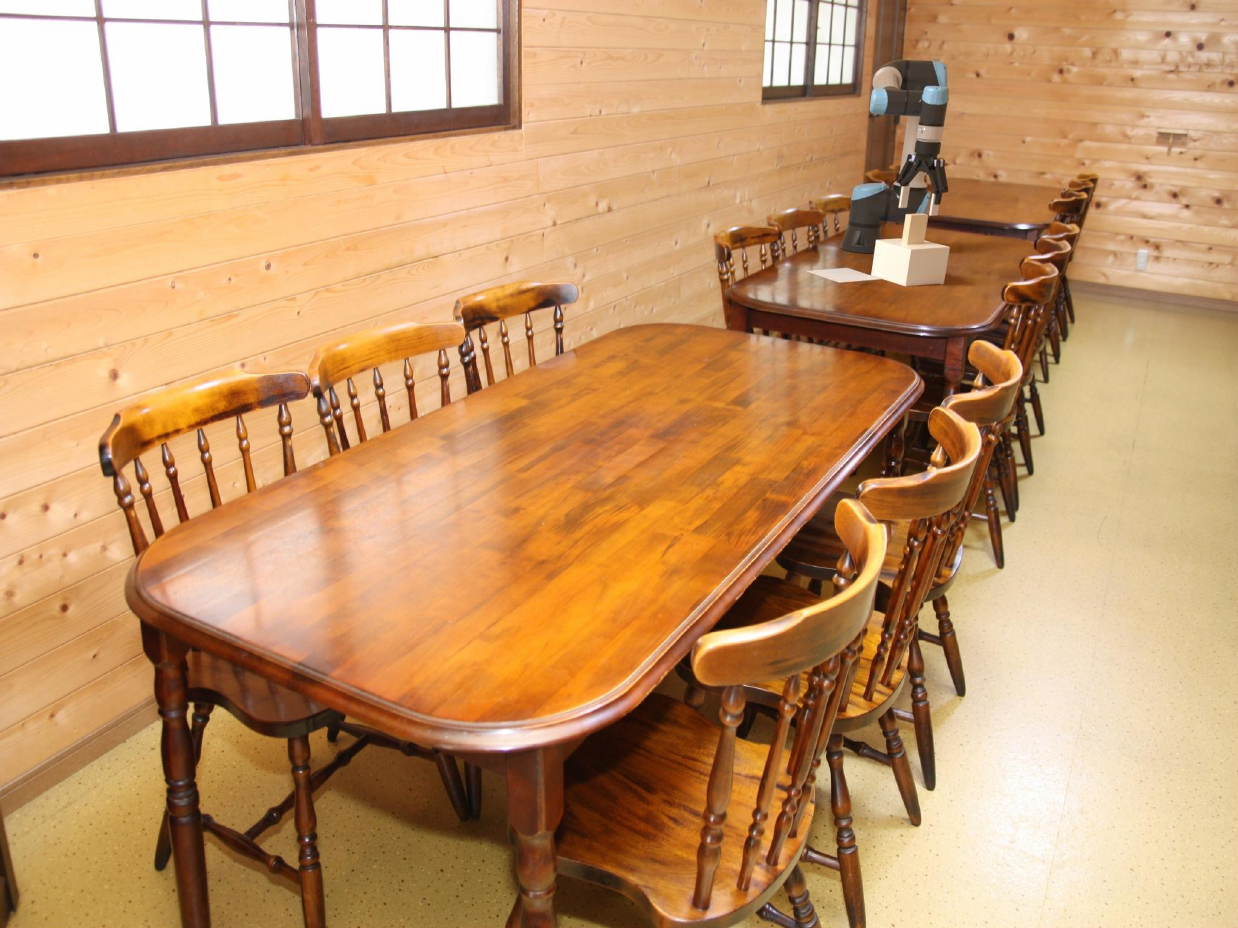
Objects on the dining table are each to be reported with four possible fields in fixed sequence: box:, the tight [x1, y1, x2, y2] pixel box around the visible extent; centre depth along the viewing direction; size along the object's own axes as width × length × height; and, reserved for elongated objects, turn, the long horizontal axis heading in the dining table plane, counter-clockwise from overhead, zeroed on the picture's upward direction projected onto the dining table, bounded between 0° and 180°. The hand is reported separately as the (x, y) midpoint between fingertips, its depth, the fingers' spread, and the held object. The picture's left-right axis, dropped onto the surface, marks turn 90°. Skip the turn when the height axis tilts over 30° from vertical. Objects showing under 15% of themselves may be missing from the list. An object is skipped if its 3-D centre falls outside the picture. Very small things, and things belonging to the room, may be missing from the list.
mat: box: [806, 267, 881, 284], centre depth 330 cm, size 17×17×1 cm
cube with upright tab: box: [870, 213, 951, 287], centre depth 325 cm, size 16×16×21 cm
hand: (917, 211), depth 321 cm, fingers open, 13 cm apart
